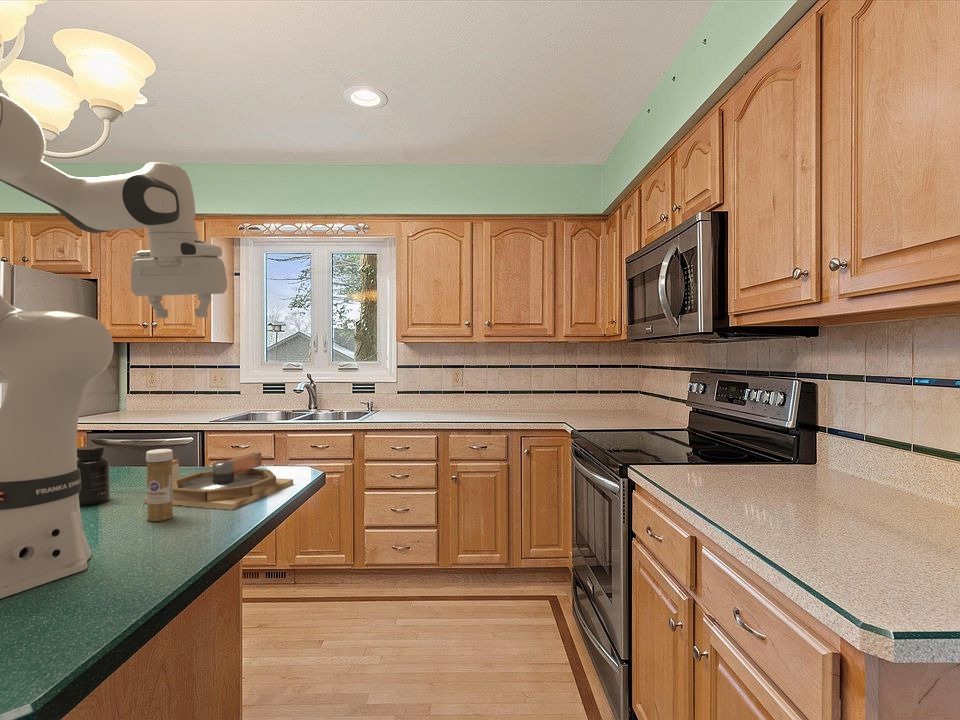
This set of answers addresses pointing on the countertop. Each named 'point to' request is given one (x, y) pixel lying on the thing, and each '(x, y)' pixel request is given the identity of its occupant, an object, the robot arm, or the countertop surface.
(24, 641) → the countertop surface
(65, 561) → the robot arm
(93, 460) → the supplement bottle
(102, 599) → the countertop surface
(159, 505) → the sprinkles bottle
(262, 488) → the dial housing
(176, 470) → the post
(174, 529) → the countertop surface
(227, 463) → the dial
